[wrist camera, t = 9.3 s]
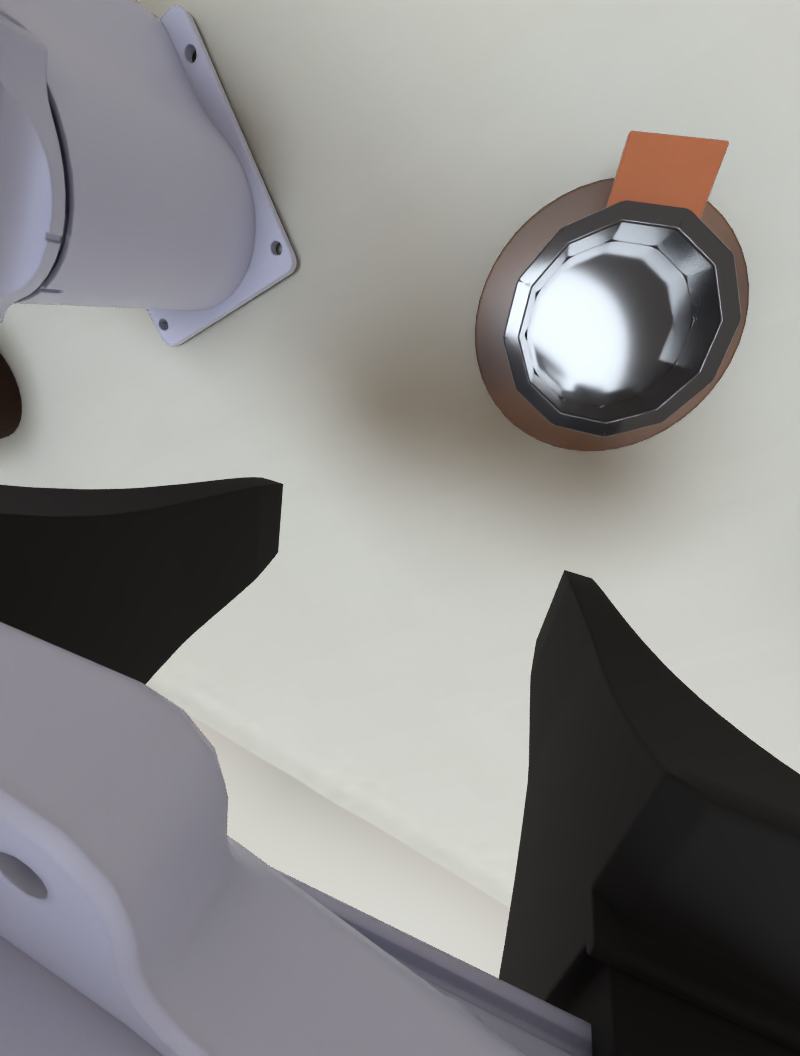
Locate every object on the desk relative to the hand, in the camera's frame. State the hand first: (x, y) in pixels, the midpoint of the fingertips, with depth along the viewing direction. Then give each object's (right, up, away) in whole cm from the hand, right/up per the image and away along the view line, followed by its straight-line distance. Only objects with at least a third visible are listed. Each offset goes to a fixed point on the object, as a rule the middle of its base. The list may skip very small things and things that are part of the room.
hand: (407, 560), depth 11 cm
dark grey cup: (+7, +8, +5) cm, 12 cm away
